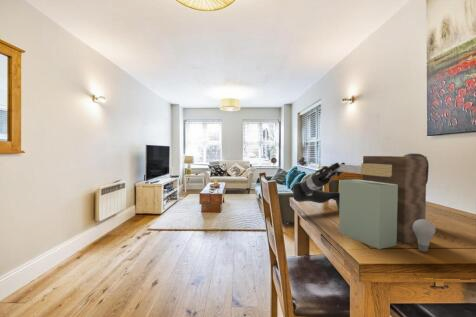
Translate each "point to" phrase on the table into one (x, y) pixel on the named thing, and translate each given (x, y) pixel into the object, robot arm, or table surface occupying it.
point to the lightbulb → (423, 233)
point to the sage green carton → (369, 212)
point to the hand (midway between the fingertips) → (341, 164)
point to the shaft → (367, 169)
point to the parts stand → (404, 190)
